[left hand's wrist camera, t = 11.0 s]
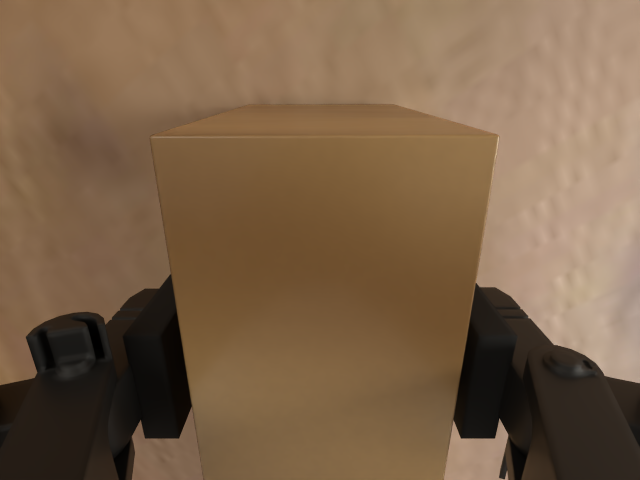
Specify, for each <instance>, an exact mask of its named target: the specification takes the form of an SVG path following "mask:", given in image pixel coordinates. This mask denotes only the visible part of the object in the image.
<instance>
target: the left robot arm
mask: <svg viewBox="0 0 640 480" xmlns="http://www.w3.org/2000/svg"><path fill="white" fill-rule="evenodd" d="M26 339H27V342H28V345H29V348H30V351H31V354H32V357H33V360H34V363H35V366H36V369H37V372H38V373H37V375H36V377H35V378H33V379H29V380H24V381H19V382H14V383H9V384H4V385H0V480H132V473H133V464H134V456H135V450H134V444H133V440H132V435H133V433H134V431H135V429H136V427H137V426H138V424H139V422H140V420H141V423H142V427H143V432H144V436H145V438H179V437H180V434H181V432H182V429H183V427H184V424H185V422H186V419H187V417H188V414H189V412H190V409H191V407H192V403H191V397H190V391H189V384H188V378H187V372H186V365H185V359H184V353H183V346H182V340H181V334H180V327H179V321H178V315H177V308H176V302H175V296H174V289H173V283H172V277H171V274H170V276H169V277H168V278H167V280H166V281H165V282H164V283H163V285H162V286H161V287H160V288H159V289H144V290H142V291H140V292H139V293H137V294H135V295H134V296H132V297H130V298H129V299H128V300H127V301H126V303H125V304H124V305H123V306H122V307H121V308H120V311H118V312H117V313H116V314H115V315H114V316H113V317H112V320H110V321H109V322H108V323H107V324H106V325H105V322H104V318H103V317H101V316H100V315H99V314H96V313H91V312H78V313H71V314H67V315H62V316H59V317H56V318H54V319H51V320H48V321H46V322H44V323H42V324H41V325H39V326H37V327H36V328H34V329H33V330H32V331H31V332H30V333H29V334H28V335H27V336H26ZM499 418H500V420H501V422H502V423H503V425H504V427H505V429H506V431H507V433H508V435H509V436H508V440H507V444H506V448H505V452H504V457H503V461H502V465H501V469H500V475H499V478H502V479H505V476H506V472H508V480H640V383H635V382H630V381H625V380H620V379H615V378H610V377H606V376H604V374H603V372H602V371H601V369H600V368H599V367H598V366H597V364H596V363H595V362H593V361H592V360H590V359H589V358H588V357H586V356H585V355H583V354H580V353H578V352H576V351H574V350H572V349H568V348H565V347H561V346H557V345H553V344H552V342H551V341H550V340H549V339H548V338H547V337H546V336H545V335H544V333H543V332H542V331H541V330H540V329H539V328H538V327H537V326H536V324H535V323H534V322H533V321H532V320H531V319H528V316H527V314H526V313H525V312H524V311H523V310H522V309H520V307H519V305H518V304H517V303H516V302H515V301H514V300H513V299H512V298H511V297H510V296H509V295H507V294H505V293H504V292H502V291H500V290H499V289H497V288H495V287H479V286H478V285H477V283H476V284H475V290H474V297H473V303H472V309H471V315H470V321H469V327H468V333H467V339H466V345H465V351H464V358H463V364H462V370H461V376H460V382H459V388H458V394H457V400H456V406H455V412H454V422H455V424H456V427H457V429H458V432H459V435H460V437H461V438H495V436H496V431H497V427H498V422H499Z"/></svg>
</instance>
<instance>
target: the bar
mask: <svg viewBox="0 0 640 480" xmlns="http://www.w3.org/2000/svg"><path fill="white" fill-rule="evenodd" d="M150 144H151V150H152V156H153V163H154V169H155V175H156V182H157V188H158V194H159V201H160V207H161V213H162V220H163V226H164V232H165V239H166V245H167V251H168V258H169V264H170V270H171V277H172V283H173V289H174V296H175V302H176V308H177V315H178V321H179V327H180V334H181V340H182V346H183V353H184V359H185V365H186V372H187V378H188V384H189V391H190V397H191V403H192V410H193V416H194V423H195V429H196V435H197V442H198V448H199V454H200V461H201V467H202V473H203V480H444V474H445V467H446V461H447V455H448V449H449V443H450V437H451V431H452V425H453V419H454V412H455V406H456V400H457V394H458V388H459V382H460V376H461V370H462V364H463V358H464V351H465V345H466V339H467V333H468V327H469V321H470V315H471V309H472V303H473V297H474V290H475V284H476V278H477V272H478V266H479V260H480V254H481V248H482V242H483V236H484V229H485V223H486V217H487V211H488V205H489V199H490V193H491V187H492V181H493V174H494V168H495V162H496V156H497V150H498V144H499V135H497V134H494V133H490V132H487V131H483V130H480V129H476V128H473V127H469V126H466V125H463V124H459V123H456V122H452V121H449V120H445V119H442V118H438V117H435V116H432V115H428V114H425V113H421V112H418V111H414V110H411V109H407V108H404V107H401V106H397V105H394V104H361V105H246V106H243V107H240V108H237V109H233V110H230V111H227V112H224V113H221V114H218V115H214V116H211V117H208V118H205V119H202V120H198V121H195V122H192V123H189V124H186V125H183V126H179V127H176V128H173V129H170V130H167V131H163V132H160V133H157V134H154V135H151V136H150Z"/></svg>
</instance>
